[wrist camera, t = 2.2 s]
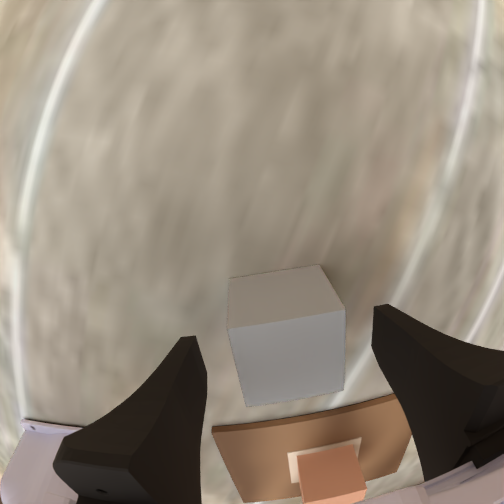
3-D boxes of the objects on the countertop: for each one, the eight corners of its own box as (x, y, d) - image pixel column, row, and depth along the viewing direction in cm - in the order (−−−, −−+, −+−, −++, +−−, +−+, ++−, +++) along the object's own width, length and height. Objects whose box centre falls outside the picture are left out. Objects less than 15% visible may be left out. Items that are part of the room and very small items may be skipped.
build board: (243, 498, 22) (243, 503, 21) (211, 426, 17) (211, 433, 17) (394, 468, 22) (396, 472, 21) (423, 384, 17) (427, 389, 17)
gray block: (243, 348, 15) (246, 407, 12) (229, 277, 14) (227, 329, 10) (322, 335, 15) (343, 390, 12) (318, 263, 14) (345, 309, 10)
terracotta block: (298, 479, 20) (305, 520, 16) (296, 455, 18) (304, 502, 15) (348, 468, 20) (359, 508, 16) (352, 444, 18) (367, 488, 15)
